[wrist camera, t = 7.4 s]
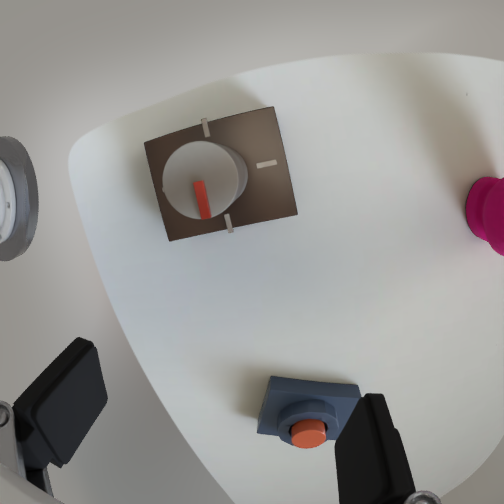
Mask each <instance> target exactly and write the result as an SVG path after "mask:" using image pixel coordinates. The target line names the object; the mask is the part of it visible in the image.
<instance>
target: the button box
mask: <svg viewBox="0 0 504 504" xmlns="http://www.w3.org/2000/svg"><path fill="white" fill-rule="evenodd" d="M359 398H361V394H360V390H359V387H358V385H348V384H336V383H325V382H315V381H306V380H297V379H290V378H282V377H275V376H271V378H270V381H269V385H268V388H267V392H266V395H265V399H264V402H263V405H262V409H261V412H260V415H259V419H258V426H257V433H259V434H266V435H274V436H279V437H280V439H281V440H282V441H284V442H286V443H288V444H291V445H293V443H292V441H291V428H292V426H293V424H295V423H296V422H298V421H301V420H305V419H318V420H321V421H322V422H323V423H324V425H325V432H326V439H325V441H327V440H337V438H338V437H339V435H340V433H341V431H342V430H343V428H344V426H345V424H346V423H347V421H348V419H349V417H350V415H351V413H352V412H353V410H354V408H355V406H356V404H357V402H358V400H359ZM325 441H324V442H325ZM324 442H323V443H324ZM294 446H295V445H294Z"/></svg>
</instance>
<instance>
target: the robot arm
mask: <svg viewBox="0 0 504 504" xmlns="http://www.w3.org/2000/svg"><path fill="white" fill-rule="evenodd" d="M15 214H16V198H15V190H14V184H13V181H12V177H11V175H10V172H9V170H8V168H7V166H6V165H5V163H4V162H3V161H2V160H0V243H2V242H4V241H6V240H7V239H8V238H9V236H10V234H11V232H12V229H13V226H14V222H15ZM107 399H108V397H107V392H106V388H105V384H104V380H103V376H102V372H101V367H100V362H99V358H98V352H97V349H96V347H94V344H93V343H92V342H91V341H88V340H86V339H83V338H80V337H78V338H76V339H75V340H74V341H73V342H72V343H71V344H70V345H69V346H68V347H67V348H66V349H65V350H64V351H63V352H62V353H61V354H60V355H59V356H58V357H57V358H56V359H55V360H54V361H53V362H52V363H51V364H50V365H49V366H48V367H47V368H46V369H45V370H44V371H43V372H42V373H41V374H40V375H39V376H38V377H37V378H36V379H35V381H34V382H33V383H32V384H31V385H30V386H29V387H28V388H27V389H26V390H25V391H24V392H23V393H22V394H21V396H20V397H19V398H18V399H17V400H16V401H15V402H14V406H13V407H11V406H10V405H9V404H8V403H6V402H4V401H0V504H64V503H62V502H61V501H59V500H57V499H55V498H54V496H53V493H52V488H51V485H50V480H49V476H48V471H47V465H48V464H49V462H51V463H52V464H54V465H56V466H58V467H59V468H61V467H62V466H63V464H67V463H68V462H69V461H70V459H71V458H72V456H73V455H74V453H75V451H76V450H77V448H78V447H79V445H80V443H81V442H82V440H83V439H84V437H85V436H86V434H87V433H88V431H89V429H90V428H91V426H92V425H93V423H94V422H95V420H96V419H97V417H98V416H99V414H100V413H101V411H102V409H103V408H104V406H105V405H106V403H107ZM335 459H336V469H337V479H338V491H339V504H441V501H440V499H439V498H438V497H437V495H435V494H434V493H432V492H429V491H418V492H416V490H415V486H414V482H413V478H412V474H411V471H410V467H409V464H408V460H407V457H406V453H405V450H404V447H403V443H402V440H401V437H400V434H399V432H398V430H397V429H396V428H394V425H393V422H392V419H391V416H390V413H389V410H388V407H387V404H386V401H385V398H384V395H383V394H372V393H367V394H365V396H364V397H361V398H359V400H358V402H357V404H356V406H355V408H354V410H353V412H352V413H351V415H350V417H349V419H348V421H347V423H346V424H345V426H344V428H343V430H342V431H341V433H340V435H339V437H338V438H337V440H336V442H335Z"/></svg>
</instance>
